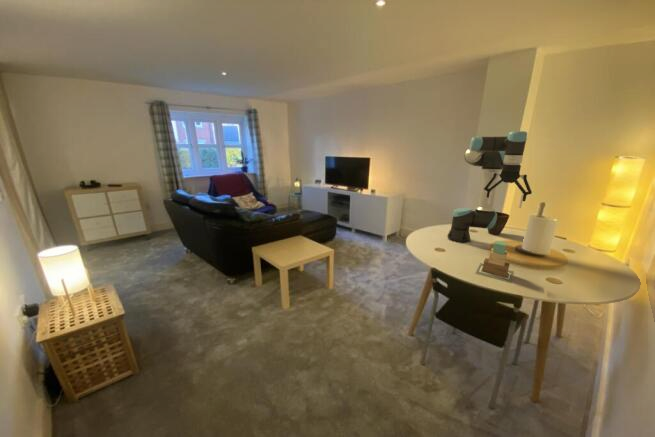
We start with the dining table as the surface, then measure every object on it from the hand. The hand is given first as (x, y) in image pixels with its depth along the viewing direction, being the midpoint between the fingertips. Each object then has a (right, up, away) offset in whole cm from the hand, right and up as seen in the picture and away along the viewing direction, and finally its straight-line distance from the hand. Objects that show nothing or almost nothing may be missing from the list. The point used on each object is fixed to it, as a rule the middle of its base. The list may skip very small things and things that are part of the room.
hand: (503, 205), depth 134 cm
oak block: (-2, -30, +3) cm, 30 cm away
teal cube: (-2, -24, +1) cm, 24 cm away
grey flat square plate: (-2, -37, +4) cm, 37 cm away
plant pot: (+39, -19, +68) cm, 80 cm away
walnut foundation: (-2, -36, +4) cm, 36 cm away
